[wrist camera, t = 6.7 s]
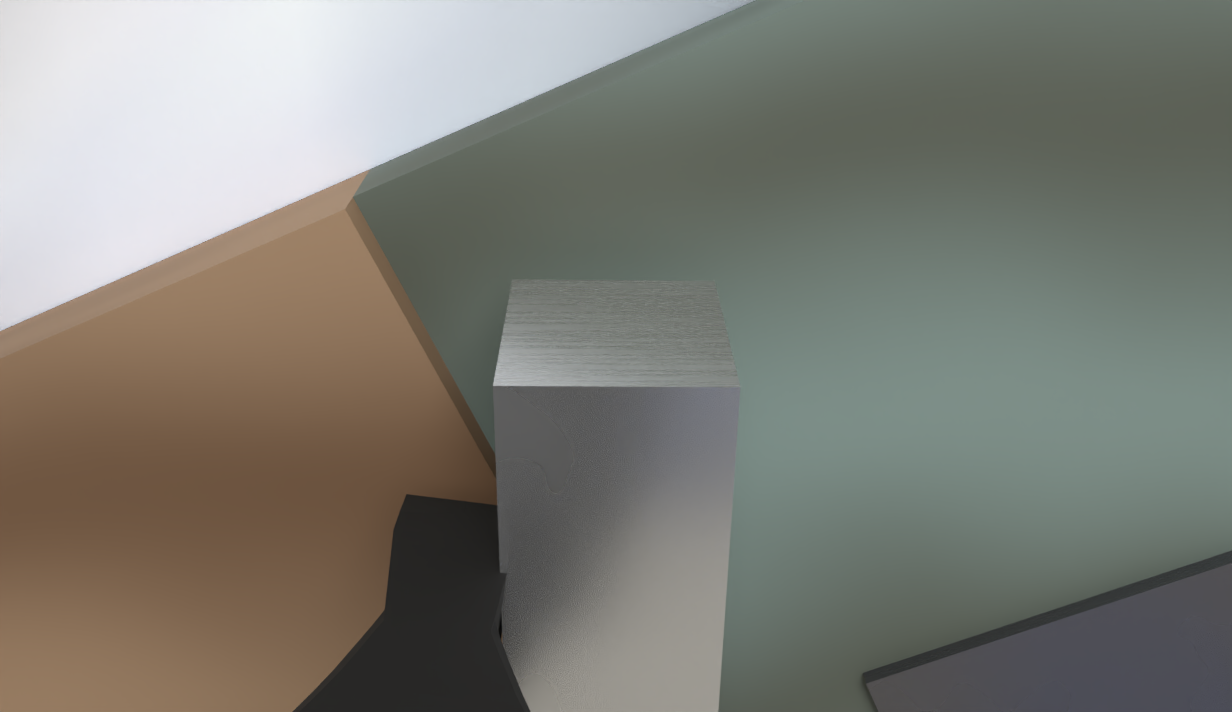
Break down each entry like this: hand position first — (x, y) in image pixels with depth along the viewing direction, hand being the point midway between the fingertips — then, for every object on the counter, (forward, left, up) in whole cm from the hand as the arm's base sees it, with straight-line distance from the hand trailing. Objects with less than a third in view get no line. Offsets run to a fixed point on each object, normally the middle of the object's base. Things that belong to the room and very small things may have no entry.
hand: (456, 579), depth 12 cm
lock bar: (-3, -1, -1) cm, 3 cm away
